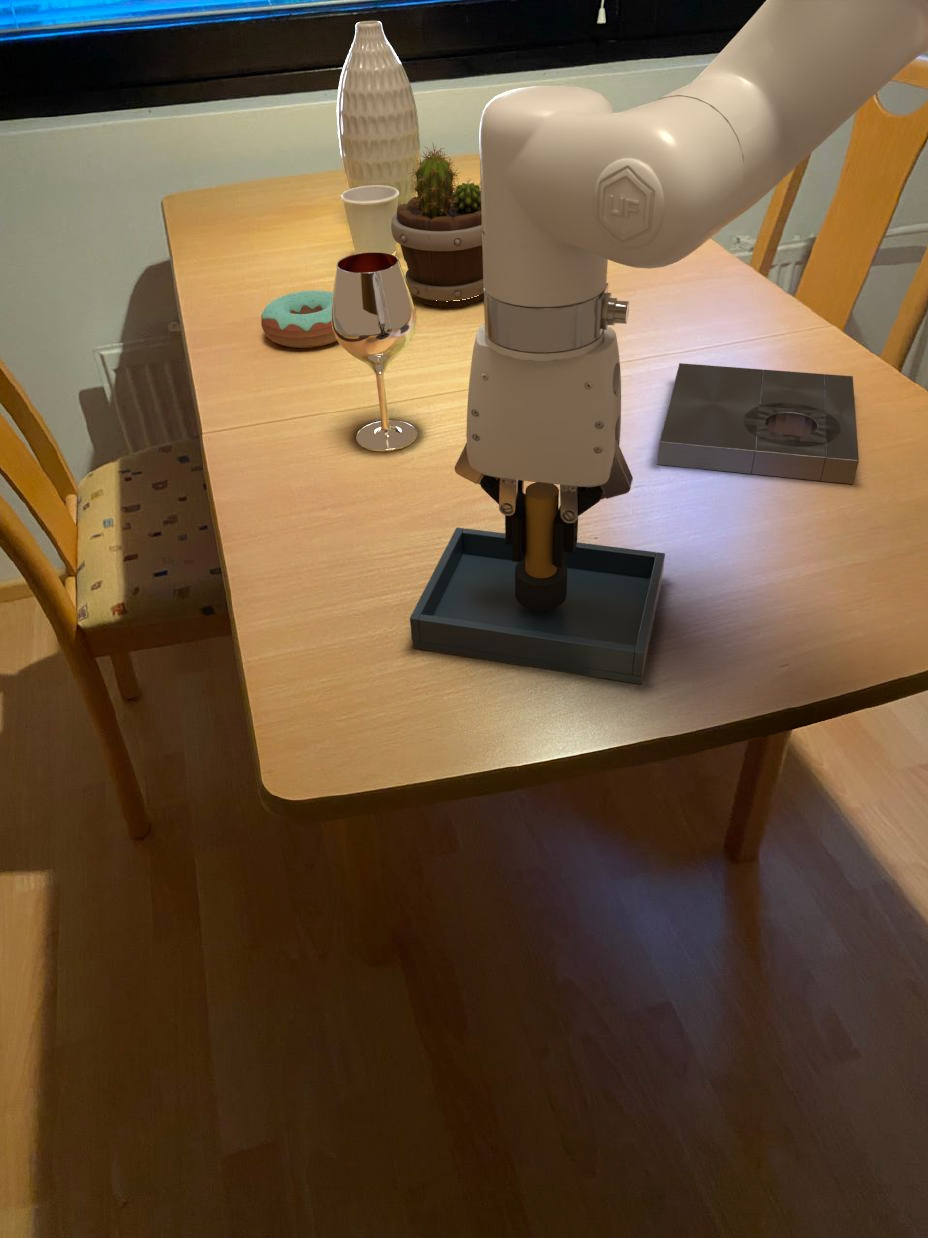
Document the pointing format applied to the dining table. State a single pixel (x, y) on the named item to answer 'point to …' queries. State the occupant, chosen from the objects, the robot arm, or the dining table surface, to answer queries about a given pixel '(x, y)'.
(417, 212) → the flowerpot
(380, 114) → the vase
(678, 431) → the drain plate
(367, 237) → the dixie cup
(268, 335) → the donut
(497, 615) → the basin tray
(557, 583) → the plug
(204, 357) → the dining table surface
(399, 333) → the wineglass
